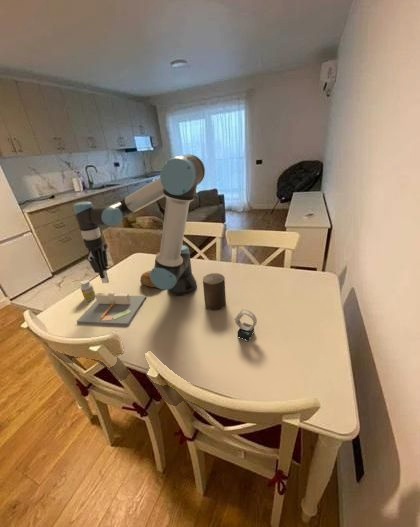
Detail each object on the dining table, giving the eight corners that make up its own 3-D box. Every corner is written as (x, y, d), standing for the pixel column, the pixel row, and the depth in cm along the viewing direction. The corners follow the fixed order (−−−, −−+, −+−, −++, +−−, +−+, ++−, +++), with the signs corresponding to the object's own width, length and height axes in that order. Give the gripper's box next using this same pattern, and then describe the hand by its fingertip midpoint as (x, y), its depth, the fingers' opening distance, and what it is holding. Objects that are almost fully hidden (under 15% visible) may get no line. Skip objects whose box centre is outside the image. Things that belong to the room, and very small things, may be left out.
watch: (239, 327, 94) (238, 304, 89) (258, 333, 90) (259, 310, 85) (232, 336, 90) (232, 313, 85) (252, 343, 86) (253, 319, 81)
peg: (131, 301, 113) (128, 291, 110) (118, 319, 101) (115, 308, 99) (100, 300, 115) (97, 290, 113) (84, 317, 104) (80, 307, 102)
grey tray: (146, 298, 117) (145, 295, 117) (128, 325, 100) (127, 323, 99) (102, 296, 121) (101, 294, 121) (77, 323, 104) (76, 320, 103)
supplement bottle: (95, 299, 120) (89, 283, 115) (84, 301, 118) (77, 285, 114) (96, 293, 124) (91, 278, 120) (85, 296, 123) (79, 280, 119)
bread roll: (159, 292, 121) (156, 279, 118) (136, 287, 127) (133, 274, 124) (169, 283, 129) (167, 270, 125) (147, 278, 135) (145, 266, 131)
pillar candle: (224, 311, 104) (222, 281, 97) (202, 309, 106) (199, 280, 99) (227, 298, 112) (226, 270, 106) (207, 297, 114) (204, 269, 108)
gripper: (93, 232, 112) (105, 275, 123) (75, 242, 101) (91, 289, 112) (107, 232, 111) (119, 275, 122) (91, 243, 100) (105, 289, 110)
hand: (105, 282), depth 117 cm, fingers closed
